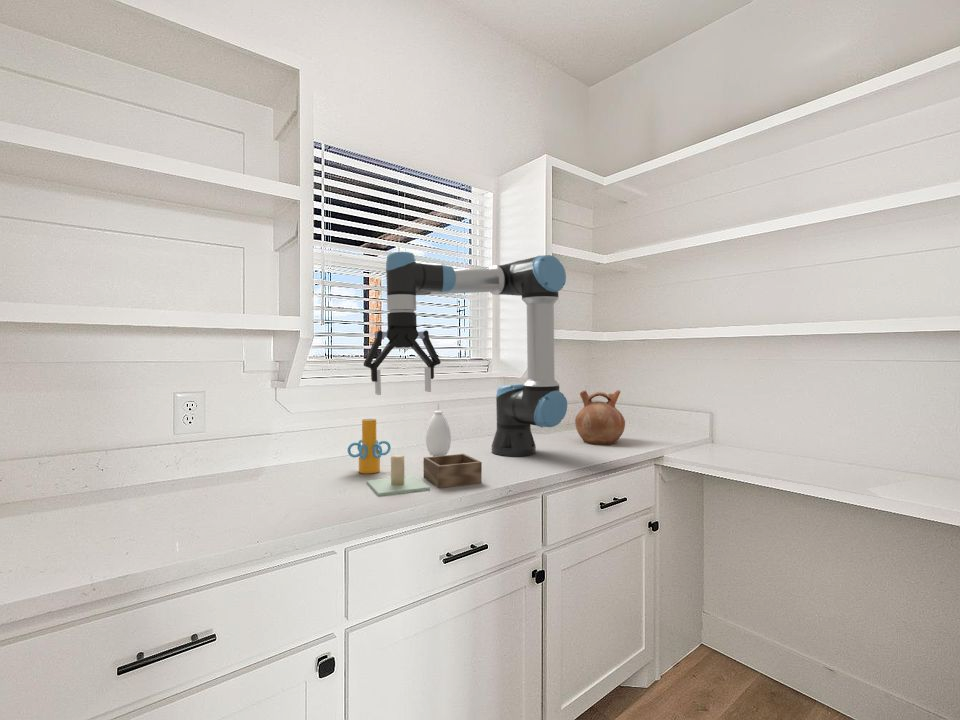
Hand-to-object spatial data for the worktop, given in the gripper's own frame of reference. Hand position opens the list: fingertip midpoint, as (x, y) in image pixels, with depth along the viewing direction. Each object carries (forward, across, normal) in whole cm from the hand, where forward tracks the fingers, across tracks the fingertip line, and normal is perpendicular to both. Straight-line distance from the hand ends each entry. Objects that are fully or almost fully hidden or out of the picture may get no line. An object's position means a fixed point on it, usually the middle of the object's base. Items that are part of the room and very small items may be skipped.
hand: (403, 393), depth 133 cm
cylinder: (+24, +6, -16) cm, 29 cm away
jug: (+26, -84, -24) cm, 91 cm away
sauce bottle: (+24, -18, -24) cm, 38 cm away
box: (+24, -12, +3) cm, 27 cm away
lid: (+24, +3, +3) cm, 25 cm away
